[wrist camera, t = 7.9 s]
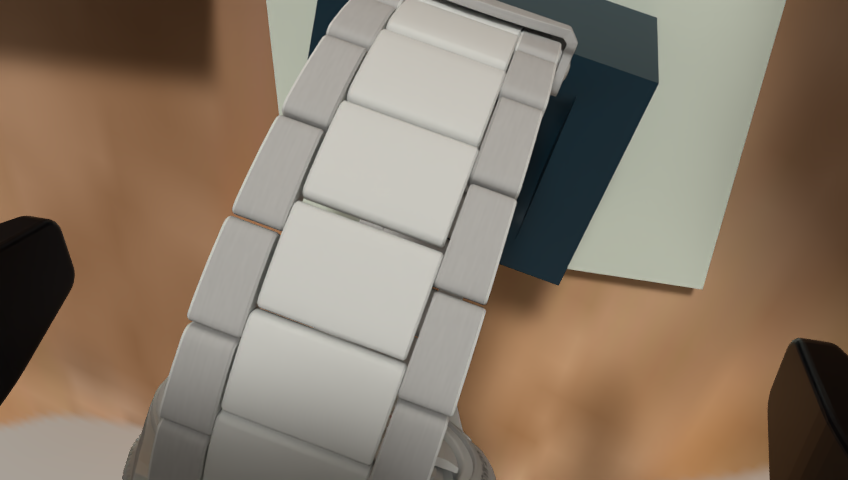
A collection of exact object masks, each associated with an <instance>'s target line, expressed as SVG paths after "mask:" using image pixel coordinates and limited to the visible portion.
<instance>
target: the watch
mask: <svg viewBox="0 0 848 480" xmlns="http://www.w3.org/2000/svg"><path fill="white" fill-rule="evenodd" d="M658 84H659V69H658V33H657V17H654V16H651V15H648V14H645V13H642V12H639V11H636V10H633V9H630V8H628V7H625V6H622V5H619V4H616V3H613V2H610V1H607V0H317V6H316V12H315V18H314V24H313V30H312V36H311V42H310V48H309V54H308V60H307V62H306V64H305V65H304V67H303V69H302V70H301V72H300V74H299V76H298V77H297V79H296V81H295V83H294V84H293V86H292V88H291V90H290V92H289V93H288V95H287V97H286V99H285V101H284V103H283V106H282V114H283V116H282V115H279V116H277V117H276V119H275V120H274V122H273V124H272V126H271V128H270V130H269V132H268V133H267V135H266V137H265V139H264V141H263V143H262V145H261V147H260V149H259V151H258V153H257V155H256V157H255V159H254V161H253V163H252V165H251V167H250V169H249V172H248V174H247V176H246V178H245V180H244V182H243V184H242V187H241V189H240V191H239V193H238V195H237V198H236V200H235V202H234V205H233V208H232V211H233V213H234V214H236V215H239V216H242V217H244V218H247V219H250V220H252V221H255V222H258V223H261V224H263V225H266V226H269V227H272V228H274V229H277V230H280V231H282V234H281V236H280V234H278V233H277V232H274V231H271V230H269V229H266V228H263V227H261V226H258V225H255V224H252V223H250V222H247V221H244V220H241V219H239V218H236V217H233V216H229V217H227V218H226V220H225V221H224V223H223V225H222V228H221V230H220V232H219V234H218V237H217V239H216V242H215V244H214V246H213V249H212V251H211V253H210V256H209V258H208V261H207V263H206V266H205V268H204V271H203V273H202V276H201V278H200V281H199V283H198V286H197V289H196V291H195V294H194V297H193V299H192V302H191V305H190V307H189V310H188V314H187V317H188V318H189V320H192V321H193V322H191V323H190V324H188V325H187V327H186V328H185V330H184V332H183V334H182V337H181V340H180V343H179V346H178V349H177V352H176V355H175V358H174V361H173V364H172V367H171V370H170V374H169V376H168V377H167V378H166V380H165V381H164V382H163V383H162V384H161V385H160V386H159V387H158V389H157V391H156V392H155V395H154V398H153V400H152V403H151V405H150V407H149V411H148V414H147V417H146V420H145V423H144V427H143V430H142V433H141V434H140V435H139V438H137V439H136V442H134V444H133V446H132V447H131V450H130V452H129V455H128V458H127V461H126V465H125V468H124V472H123V476H122V479H123V480H496V477H495V474H494V471H493V469H492V467H491V465H490V463H489V461H488V459H487V458H486V456H485V455H484V453H483V452H482V451H481V450H480V449H479V448H478V447H477V446H476V445H475V444H473V443H472V442H471V439H470V438H469V437H468V436H467V435H466V434H465V433H464V432H463V429H462V425H461V421H460V417H459V412H458V408H457V403H458V400H459V397H460V393H461V390H462V387H463V384H464V381H465V378H466V375H467V371H468V368H469V365H470V362H471V359H472V355H473V352H474V349H475V346H476V343H477V339H478V336H479V333H480V330H481V326H482V323H483V320H484V317H485V313H486V310H485V309H484V308H482V307H479V306H476V305H474V304H471V303H468V302H466V301H463V300H462V299H463V298H466V299H469V300H471V301H474V302H477V303H479V304H482V305H485V304H487V301H488V298H489V295H490V292H491V288H492V285H493V282H494V278H495V275H496V272H497V268H498V265H499V264H501V265H504V266H506V267H509V268H512V269H515V270H517V271H520V272H523V273H526V274H528V275H531V276H534V277H537V278H539V279H542V280H545V281H548V282H550V283H553V284H556V285H559V284H560V282H561V280H562V278H563V276H564V274H565V272H566V270H567V268H568V265H569V263H570V261H571V259H572V257H573V255H574V253H575V251H576V249H577V247H578V245H579V243H580V241H581V239H582V237H583V235H584V233H585V231H586V229H587V227H588V225H589V223H590V221H591V219H592V217H593V215H594V213H595V211H596V209H597V207H598V205H599V203H600V201H601V199H602V197H603V195H604V193H605V191H606V189H607V187H608V185H609V183H610V181H611V179H612V177H613V175H614V173H615V171H616V169H617V167H618V165H619V163H620V161H621V159H622V157H623V155H624V153H625V151H626V149H627V147H628V145H629V143H630V141H631V139H632V137H633V135H634V133H635V131H636V129H637V127H638V124H639V122H640V120H641V118H642V116H643V114H644V112H645V110H646V108H647V106H648V104H649V102H650V100H651V98H652V96H653V94H654V92H655V90H656V88H657V86H658ZM304 198H305V199H306V200H309V201H312V202H315V203H317V204H320V205H323V206H326V207H328V208H331V209H334V210H337V211H339V212H342V213H345V214H348V215H350V216H353V217H356V218H359V219H360V221H359V222H357V221H354V220H351V219H349V218H346V217H343V216H340V215H338V214H335V213H332V212H329V211H327V210H324V209H321V208H318V207H316V206H313V205H310V204H307V203H305V202H302V201H303V199H304ZM432 287H436V288H438V289H439V291H437V290H435V289H432ZM260 308H262V309H260ZM263 309H265V310H268V311H270V312H268V311H265V310H263ZM271 312H273V313H276V314H278V315H276V314H273V313H271ZM279 315H281V316H279ZM282 316H284V317H287V318H289V319H287V318H284V317H282ZM290 319H292V320H295V321H297V322H295V321H292V320H290ZM298 322H300V323H303V324H305V325H303V324H300V323H298ZM306 325H308V326H306ZM309 326H311V327H313V328H311V327H309ZM414 336H417V337H418V338H416V337H414Z"/></svg>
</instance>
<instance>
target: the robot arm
mask: <svg viewBox="0 0 848 480" xmlns="http://www.w3.org/2000/svg"><path fill="white" fill-rule="evenodd" d="M74 277H75V272H74V267H73V264H72V261H71V258H70V255H69V252H68V249H67V246H66V243H65V240H64V237H63V234H62V231H61V228H60V227H59V225H58V224H57V223H56V222H55V221H52V220H50V219H45V218H39V217H33V216H21V217H17V218H15V219H12V220H9V221H6V222H3V223H0V406H1V404H2V403H3V401H4V400H5V399H6V397H7V396H8V394H9V393H10V391H11V390H12V388H13V387H14V386H15V384H16V383H17V381H18V379H19V378H20V376H21V374H22V373H23V371H24V370H25V368H26V366H27V365H28V363H29V361H30V359H31V358H32V356H33V354H34V353H35V351H36V349H37V347H38V346H39V344H40V342H41V340H42V339H43V337H44V335H45V334H46V332H47V330H48V328H49V327H50V325H51V323H52V321H53V320H54V318H55V316H56V315H57V313H58V311H59V309H60V308H61V306H62V304H63V302H64V301H65V299H66V297H67V296H68V294H69V292H70V290H71V288H72V286H73V283H74ZM768 440H769V472H770V480H848V355H847V354H846V353H845V352H844V351H843V350H842V349H841V348H839V347H838V346H837V345H835V344H833V343H830V342H824V341H817V340H811V339H805V338H797V339H795V340H793V341H792V342H791V343H790V344H789V346H788V348H787V350H786V353H785V355H784V358H783V360H782V363H781V365H780V368H779V370H778V373H777V375H776V378H775V380H774V383H773V386H772V388H771V391H770V395H769V400H768Z"/></svg>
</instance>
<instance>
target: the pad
mask: <svg viewBox="0 0 848 480" xmlns="http://www.w3.org/2000/svg"><path fill="white" fill-rule="evenodd" d="M607 1H610V2H613V3H616V4H619V5H622V6H625V7H628V8H630V9H633V10H636V11H639V12H642V13H645V14H648V15H651V16H654V17H657V33H658V69H659V84H658V86H657V88H656V90H655V92H654V94H653V96H652V98H651V100H650V102H649V104H648V106H647V108H646V110H645V112H644V114H643V116H642V118H641V120H640V122H639V124H638V127H637V129H636V131H635V133H634V135H633V137H632V139H631V141H630V143H629V145H628V147H627V149H626V151H625V153H624V155H623V157H622V159H621V161H620V163H619V165H618V167H617V169H616V171H615V173H614V175H613V177H612V179H611V181H610V183H609V185H608V187H607V189H606V191H605V193H604V195H603V197H602V199H601V201H600V203H599V205H598V207H597V209H596V211H595V213H594V215H593V217H592V219H591V221H590V223H589V225H588V227H587V229H586V231H585V233H584V235H583V237H582V239H581V241H580V243H579V245H578V247H577V249H576V251H575V253H574V255H573V257H572V259H571V261H570V263H569V265H568V268H567V269H571V270H578V271H584V272H591V273H597V274H604V275H611V276H617V277H624V278H630V279H637V280H644V281H650V282H657V283H663V284H670V285H677V286H683V287H690V288H696V289H703V286H704V282H705V279H706V275H707V272H708V268H709V265H710V262H711V258H712V255H713V251H714V248H715V244H716V241H717V237H718V234H719V230H720V227H721V224H722V220H723V217H724V213H725V210H726V206H727V203H728V199H729V196H730V192H731V189H732V185H733V182H734V179H735V175H736V172H737V168H738V165H739V161H740V158H741V154H742V151H743V147H744V144H745V141H746V137H747V134H748V130H749V127H750V123H751V120H752V116H753V113H754V109H755V106H756V103H757V99H758V96H759V92H760V89H761V85H762V82H763V78H764V75H765V71H766V68H767V65H768V61H769V58H770V54H771V51H772V47H773V44H774V40H775V37H776V33H777V30H778V26H779V23H780V20H781V16H782V13H783V9H784V6H785V2H786V0H607ZM266 3H267V12H268V21H269V30H270V38H271V47H272V56H273V65H274V73H275V82H276V91H277V100H278V109H279V115H282V116H283V114H282V106H283V103H284V101H285V99H286V97H287V95H288V93H289V92H290V90H291V88H292V86H293V84H294V83H295V81H296V79H297V77H298V76H299V74H300V72H301V70H302V69H303V67H304V65H305V64H306V62H307V60H308V54H309V48H310V42H311V36H312V30H313V24H314V18H315V12H316V6H317V0H266ZM302 202H305V203H307V204H310V205H313V206H316V207H318V208H321V209H324V210H327V211H329V212H332V213H335V214H338V215H340V216H343V217H346V218H349V219H351V220H354V221H357V222H359V221H360V219H359V218H356V217H353V216H350V215H348V214H345V213H342V212H339V211H337V210H334V209H331V208H328V207H326V206H323V205H320V204H317V203H315V202H312V201H309V200H306V199H305V198H304V199H303V201H302Z"/></svg>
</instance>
